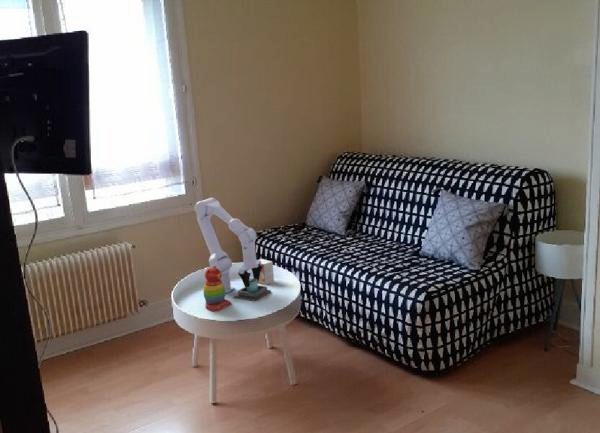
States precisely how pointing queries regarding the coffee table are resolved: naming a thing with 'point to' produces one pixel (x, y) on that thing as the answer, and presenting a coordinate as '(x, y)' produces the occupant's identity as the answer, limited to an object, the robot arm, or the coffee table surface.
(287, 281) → the coffee table surface
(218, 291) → the stacking bear
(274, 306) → the coffee table surface
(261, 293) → the socket
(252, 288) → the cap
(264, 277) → the small box
